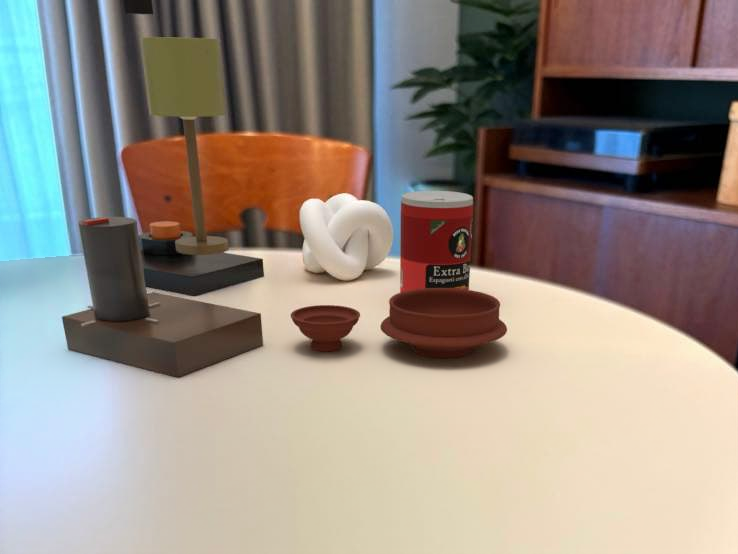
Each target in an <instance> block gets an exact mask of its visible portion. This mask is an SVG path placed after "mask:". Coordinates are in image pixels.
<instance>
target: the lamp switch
mask: <svg viewBox="0 0 738 554" xmlns="http://www.w3.org/2000/svg"><path fill="white" fill-rule="evenodd" d="M149 231H150V232H151V237H152V238H176V237H181V231H182V230H181V224H180V222H178V221H170V220H167V221H165V220H164V221H163V220H162V221H154V222H151V223H149Z"/></svg>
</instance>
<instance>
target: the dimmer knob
mask: <svg viewBox="0 0 738 554" xmlns="http://www.w3.org/2000/svg"><path fill="white" fill-rule="evenodd" d="M77 224H78V230H79V236H80V243H81V246H82V247H81V248H82V251H83V252H82V253H83V259H84V264H85V265H84V266H85V270H86V276H87V281H88V286H89V293H90V299H91V304H92V306H93V310H94V315H95V317H96V318H97V319H100V320H104V321H129V320H135V319H139V318H143V317H145V316H147V315H148V314H149V313H150V312H149V305H148V298H147V294H148V292H147V291H148V290H147V287H146V284H145V277H144V270H143V263H142V256H141V249H140V242H139V235H140V234H139V228H138V221H137V219H135V218H133V217H125V216H99V217H91V218H85V219H81V220H79V221H78V223H77Z"/></svg>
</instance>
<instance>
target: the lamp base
mask: <svg viewBox="0 0 738 554" xmlns="http://www.w3.org/2000/svg"><path fill="white" fill-rule="evenodd" d="M180 231H181V237H176V238H152V237H151V231H148V232H143V233H141V234H138V235H139V242H140V249H141V256H142V263H143V270H144V277H145V284H146V288H149V289H153V290H160V291H164V292H170V293H174V294H178V295H179V294H180V295H184V296H188V297H189V296H190V297H198V296H202V295H205V294H209V293H212V292H215V291H220V290H222V289H223V290H224V289H226V288H229V287H233V286H236V285H241V284H244V283H247V282H251V281H253V280H257V279H262V278H264V277H265V269H264V259H263V258H261V257H254V256H248V255H243V254H235V253H228V252H222V253H218V254H210V255H189V254H182V253H179V252H177V251H176V246H175V241H176V240H178V239H181V238H185V237H193V236H194V235H195V234H193V233H192V232H190V231H184V230H180Z"/></svg>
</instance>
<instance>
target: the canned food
mask: <svg viewBox="0 0 738 554" xmlns="http://www.w3.org/2000/svg"><path fill="white" fill-rule="evenodd" d="M473 221H474V197H473V196H472V194H471V195H470V194H468V193H464V192H459V191H458V192H457V191H449V190H416V191H409V192H405V193H403V194H401V199H400V247H399V249H400V251H399V252H400V253H399V255H400V257H399V258H400V259H399V264H400V265H399V269H400V271H399V272H400V273H399V274H400V276H399V278H400V281H399V293H401V292H405V291H410V290H416V289H425V288H454V289H465V290H470V277H471V255H472V241H473V240H472V239H473V224H474V223H473Z"/></svg>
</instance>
